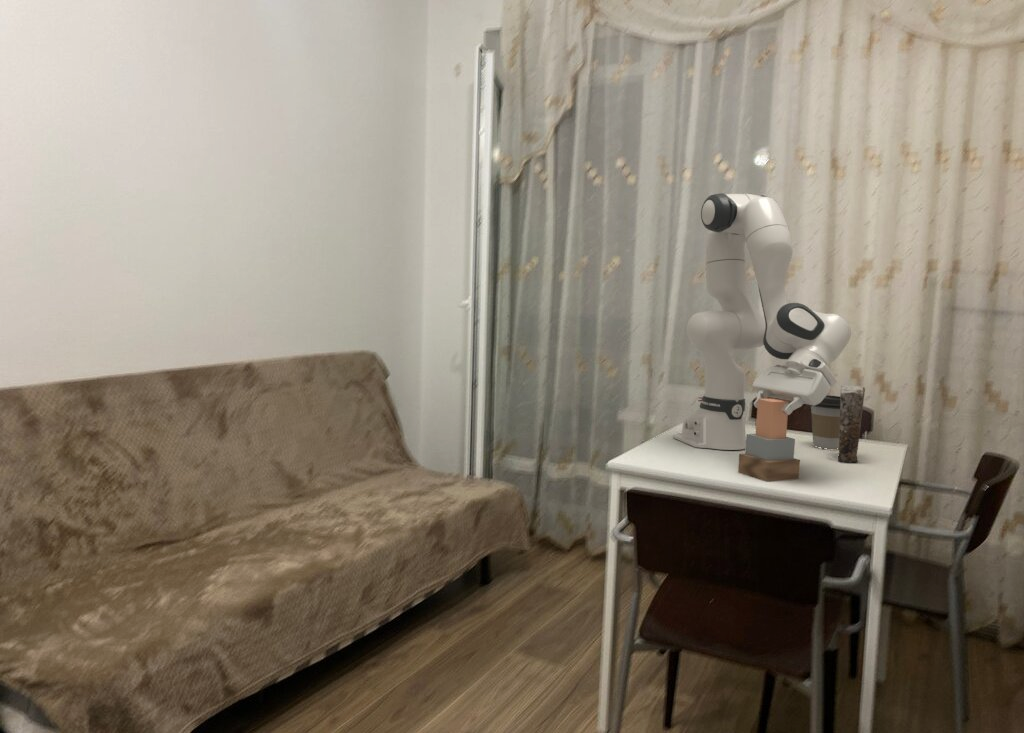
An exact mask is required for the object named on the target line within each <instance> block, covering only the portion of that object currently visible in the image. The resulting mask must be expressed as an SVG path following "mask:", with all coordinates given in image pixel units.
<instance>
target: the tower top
mask: <svg viewBox="0 0 1024 733" xmlns="http://www.w3.org/2000/svg"><path fill="white" fill-rule="evenodd" d="M745 437H746V448H745V449H744V450H745V451H744V452H745V454H747V455H750V456H753V457H756V458H759V459H762V460H765V461H775V460H794V458H795V445H796V439H795V438H792V437H788V436H786V438H782V439H767V438H764V437H760V436H756V433H746V434H745Z"/></svg>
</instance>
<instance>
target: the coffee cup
mask: <svg viewBox="0 0 1024 733" xmlns="http://www.w3.org/2000/svg"><path fill="white" fill-rule="evenodd" d="M810 409H811V410H810V413H811V415H810V416H811V431H812V444H813V447H814V446H817V447H821V448H827V449H837V448H839V436H840V396H838V395H828V394H827V395H826V397H825V398H824V399H823V400H822V401H821V402H820V403H819V404H817V405H815V406H813V405H810Z"/></svg>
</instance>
